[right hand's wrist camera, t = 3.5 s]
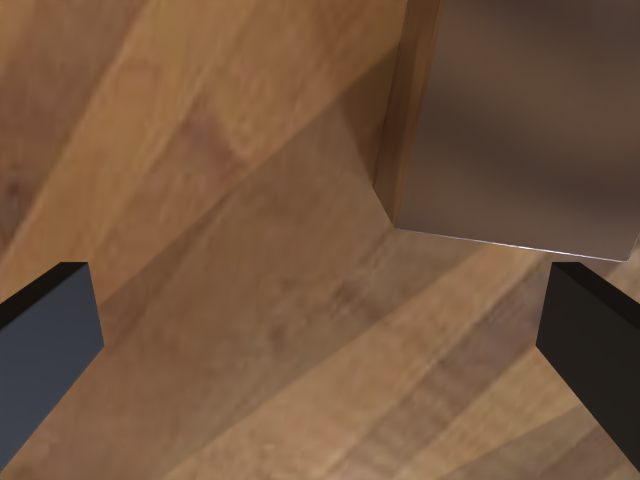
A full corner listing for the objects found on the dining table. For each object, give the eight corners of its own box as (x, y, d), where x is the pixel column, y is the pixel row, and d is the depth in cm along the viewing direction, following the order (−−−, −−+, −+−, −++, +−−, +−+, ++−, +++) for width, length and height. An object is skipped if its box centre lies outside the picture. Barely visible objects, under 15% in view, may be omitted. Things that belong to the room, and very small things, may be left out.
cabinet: (446, -203, 22) (530, -390, 13) (659, -161, 22) (870, -314, 14) (371, 186, 28) (394, 230, 20) (536, 211, 29) (627, 263, 20)
